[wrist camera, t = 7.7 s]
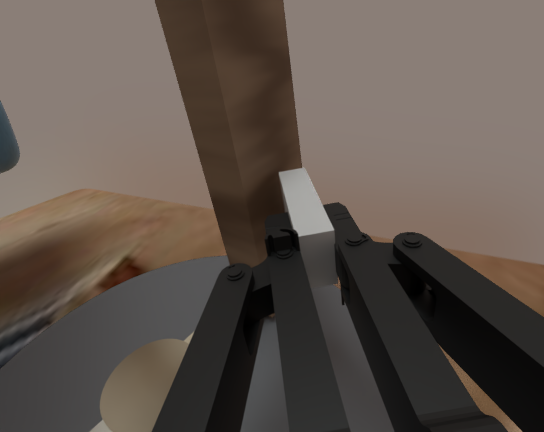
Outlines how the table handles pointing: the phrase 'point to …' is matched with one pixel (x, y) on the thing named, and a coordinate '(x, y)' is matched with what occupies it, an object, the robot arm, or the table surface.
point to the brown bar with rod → (219, 160)
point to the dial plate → (168, 325)
